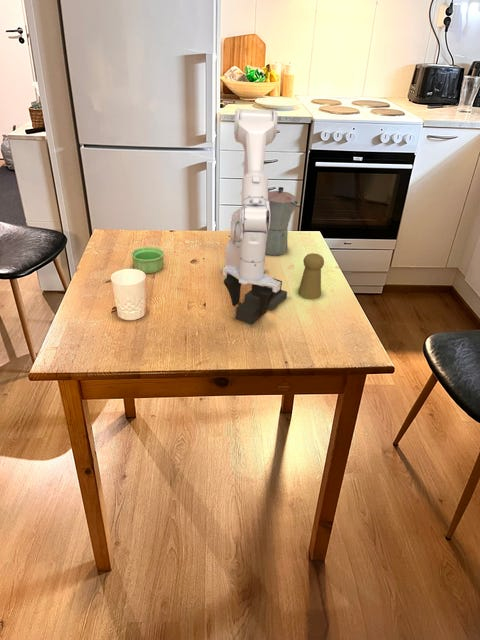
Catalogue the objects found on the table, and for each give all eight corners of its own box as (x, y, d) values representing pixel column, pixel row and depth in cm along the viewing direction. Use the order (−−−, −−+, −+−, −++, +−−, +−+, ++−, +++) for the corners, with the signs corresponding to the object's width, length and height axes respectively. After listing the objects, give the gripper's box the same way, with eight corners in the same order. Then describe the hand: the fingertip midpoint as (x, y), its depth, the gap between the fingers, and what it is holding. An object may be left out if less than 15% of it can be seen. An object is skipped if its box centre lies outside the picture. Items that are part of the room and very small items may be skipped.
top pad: (235, 318, 120) (236, 307, 118) (245, 310, 123) (246, 299, 121) (251, 325, 118) (252, 313, 116) (261, 316, 121) (262, 305, 119)
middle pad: (251, 294, 126) (251, 283, 125) (262, 285, 130) (263, 274, 129) (270, 300, 124) (271, 289, 122) (281, 292, 128) (282, 281, 126)
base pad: (244, 301, 127) (244, 294, 126) (260, 289, 133) (260, 282, 132) (271, 311, 124) (272, 304, 122) (286, 298, 129) (287, 291, 128)
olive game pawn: (320, 300, 129) (325, 262, 123) (297, 297, 130) (301, 259, 124) (321, 289, 134) (327, 252, 128) (299, 286, 135) (303, 249, 129)
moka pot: (286, 261, 148) (293, 196, 137) (242, 248, 154) (245, 184, 143) (300, 250, 155) (308, 187, 144) (257, 238, 161) (261, 177, 150)
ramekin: (170, 270, 140) (169, 255, 138) (140, 277, 136) (139, 262, 133) (156, 257, 146) (155, 244, 144) (127, 264, 142) (126, 250, 139)
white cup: (153, 308, 122) (151, 272, 117) (138, 324, 116) (135, 287, 110) (125, 302, 124) (122, 266, 119) (108, 317, 118) (104, 280, 112)
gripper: (215, 254, 112) (214, 306, 119) (271, 272, 106) (267, 326, 113) (232, 244, 117) (230, 294, 124) (287, 261, 111) (281, 312, 118)
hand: (249, 309), depth 119 cm, fingers open, 7 cm apart
